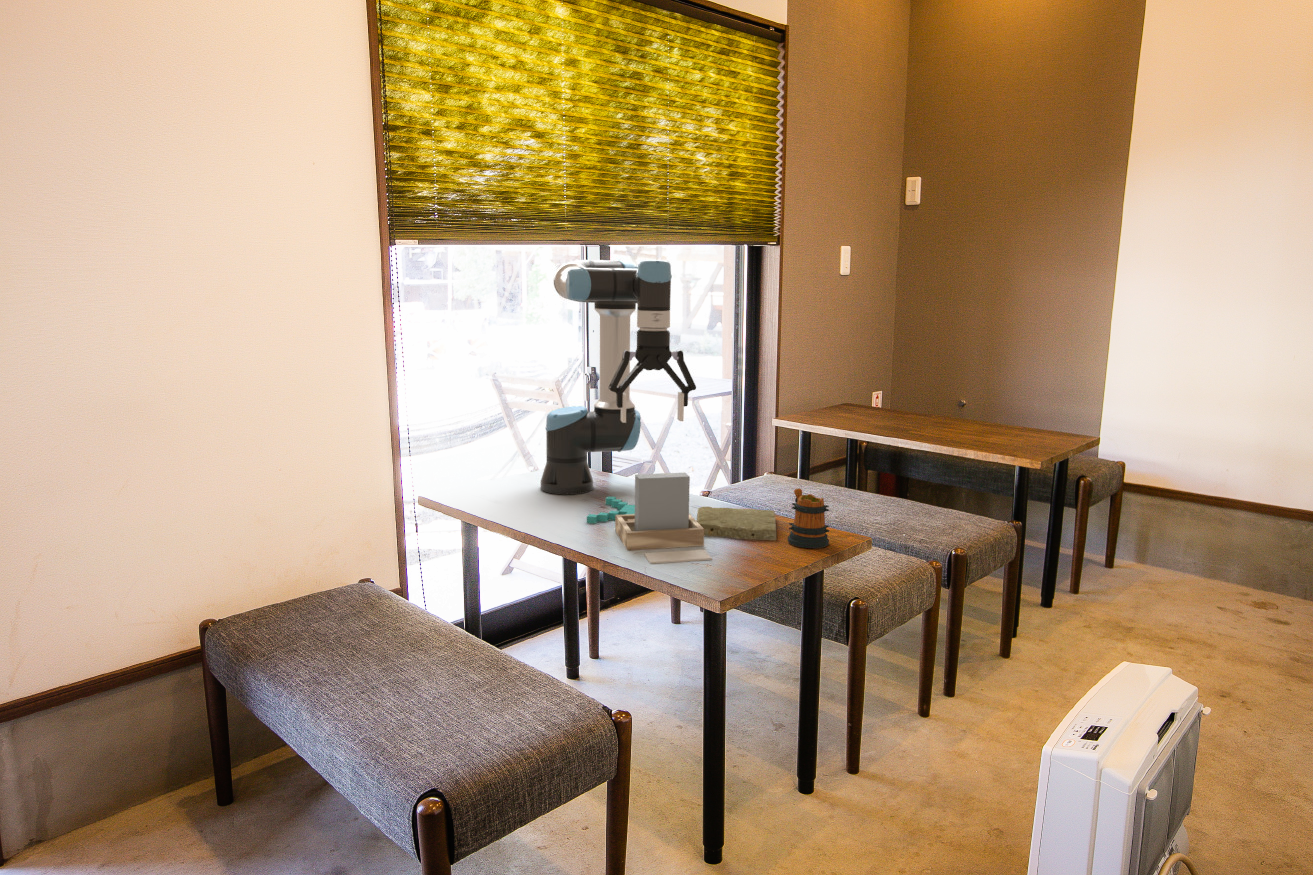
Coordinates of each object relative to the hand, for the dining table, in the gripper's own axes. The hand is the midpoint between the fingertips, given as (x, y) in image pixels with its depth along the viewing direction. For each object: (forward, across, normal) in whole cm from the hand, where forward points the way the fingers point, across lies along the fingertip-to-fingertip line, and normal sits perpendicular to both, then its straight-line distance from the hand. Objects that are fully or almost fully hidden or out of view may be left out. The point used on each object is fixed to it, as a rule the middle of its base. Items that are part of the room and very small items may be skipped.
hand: (652, 421), depth 204 cm
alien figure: (+29, 0, +19) cm, 34 cm away
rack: (+28, +2, -1) cm, 28 cm away
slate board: (+28, +2, -4) cm, 28 cm away
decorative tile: (+29, +22, +4) cm, 37 cm away
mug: (+28, +36, -10) cm, 46 cm away
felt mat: (+28, +3, -16) cm, 32 cm away
